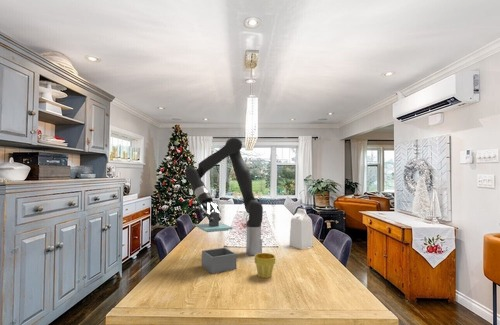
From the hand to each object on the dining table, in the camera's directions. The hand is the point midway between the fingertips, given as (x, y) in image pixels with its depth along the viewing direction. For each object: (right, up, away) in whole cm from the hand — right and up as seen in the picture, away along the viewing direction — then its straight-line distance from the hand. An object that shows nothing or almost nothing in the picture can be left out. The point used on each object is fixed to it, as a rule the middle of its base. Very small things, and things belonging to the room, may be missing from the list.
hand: (216, 220), depth 146 cm
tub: (+1, -26, +2) cm, 26 cm away
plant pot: (+25, -26, -9) cm, 37 cm away
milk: (+54, -28, +47) cm, 77 cm away
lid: (-1, -4, +1) cm, 5 cm away
